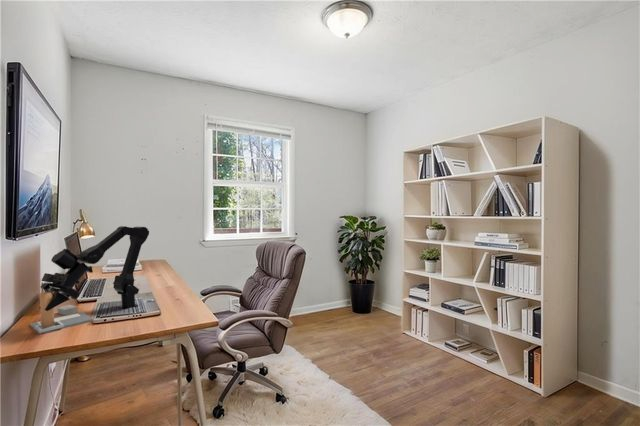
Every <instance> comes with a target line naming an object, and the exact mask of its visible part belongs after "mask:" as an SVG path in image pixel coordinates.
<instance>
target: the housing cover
mask: <svg viewBox="0 0 640 426" xmlns="http://www.w3.org/2000/svg"><path fill="white" fill-rule="evenodd" d="M76 313H79V309H78V306H76V305H72V304H68V305H67V304H66V305H63V306H59V307H57V314H60V315H61V316H62V315H63V316H67V315H71V314H76Z"/></svg>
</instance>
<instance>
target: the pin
mask: <svg viewBox="0 0 640 426" xmlns="http://www.w3.org/2000/svg"><path fill="white" fill-rule="evenodd" d="M52 298H53V292H52V291H48V292H45V291H43V292H42V291H41V292H40V293H39V303H40V304H39V305H40V306H39V308H40V309H39V310H40V321H41V327H49V326H52V325H54V318H55V309H54V308H55V307H54V308H52V309H50V310H48V311H46V310H45V308H46V307H47V305H48V304H49V302H50V301H51V300H52Z"/></svg>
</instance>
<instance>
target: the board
mask: <svg viewBox="0 0 640 426" xmlns="http://www.w3.org/2000/svg"><path fill="white" fill-rule="evenodd" d="M92 320H93V321H94V318H92V317H91V316H89V315H88V314H86V313H84V312H82V311H81V312H77V313H73V314H69V315H63V316H62V315H61V316H59V317H54V325H52V326H49V327H41V320H40V321H36V322H31V323H30V327H31V328H32V329H33V330H34V331H35V332H36V333H37V334H38V335H41V334H46V333H51V332H54V331H57V330H58V331H59V330H61V329H66V328H69V327H74V326H78V325H82V324H86V323H90V322H93V321H92Z"/></svg>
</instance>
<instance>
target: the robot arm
mask: <svg viewBox="0 0 640 426" xmlns="http://www.w3.org/2000/svg"><path fill="white" fill-rule="evenodd" d="M149 234H150V230H149V228H147V227H146V226H134V227H130V226H126V225H124V226H123V225H119V226H118V227H117V228H116V229H115V230H114V231H113V232H111V233H110V234H108V235H107V236H106V237H105V238H104V239H102V240H101V241H99V242H98V243H96V245H93V246H90V247H87V248H86V249H84V250H82V251H81V252H80V253H78V254H74V253H72V252H71V250H69V249H68V248H63V249H62V250H61V251H58V252H57V253H56V254H54V255H53V256H52V258H51V262H52V263H53V264H55V265H56V266H58V267H59V268H61V269H62V270H66V272H65V273H60V272H55V273H46V272H45V273H44V274H43V277H42V278H41V282H44V283H42V284H41V285H40V288H41V289H42V290H43V292H48V291H52V292H53V298H52V300H51V301H50V302H49V304H48V305H47V307H46V308H45V310H46V311H48V310H50V309H52V308H56V307H57V306H59V305H61V304H63V303H65V302H67V301H70V300H71V299H72V300H77V299H78V298H79V297H80V291H78V290H77V289H74V287H75V286H76V285H79V284H80V283H81V282H80V280H81V279H82V278H83V276H84V275H85V274H86V273H90V274H92V273H93V272H94V270H93V266H92V265H95V264H97V263H99V262H100V260H101V259H102V258H103V257H104V256H105V253H106V252H107V251H108V250H109V249H111V247H113V246H114V245H115V244H116V243H118V242H119V241H120V240H122V239H123V238H124V237H125V236H129V238H128V239H129V242H130V244H129V247H128V251H127V254H126V258H125V261H124V265H123V268H122V270H121V273H119V275H115V276H114V281H112V284H113V289H114V291H116V292H117V294H118V295H120V300H121V301H120V302H121V304H120V305H118V308H120V309H123V310H128V309H130V308H135V307H138V306H139V304H137V303H136V295H138V294H139V291H140V288H138V287H137V286H136V285H135V279H134V278H135V277H134V272H135V269H136V265H137V263H138V262H137V261H138V259H139V255H140V251H141V249H142V246H143V244H144V243H145V242H146V241H147V239H148V237H149ZM88 264H90V265H89V266H88ZM70 297H71V299H70ZM39 310H41V309H40V307H39Z"/></svg>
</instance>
